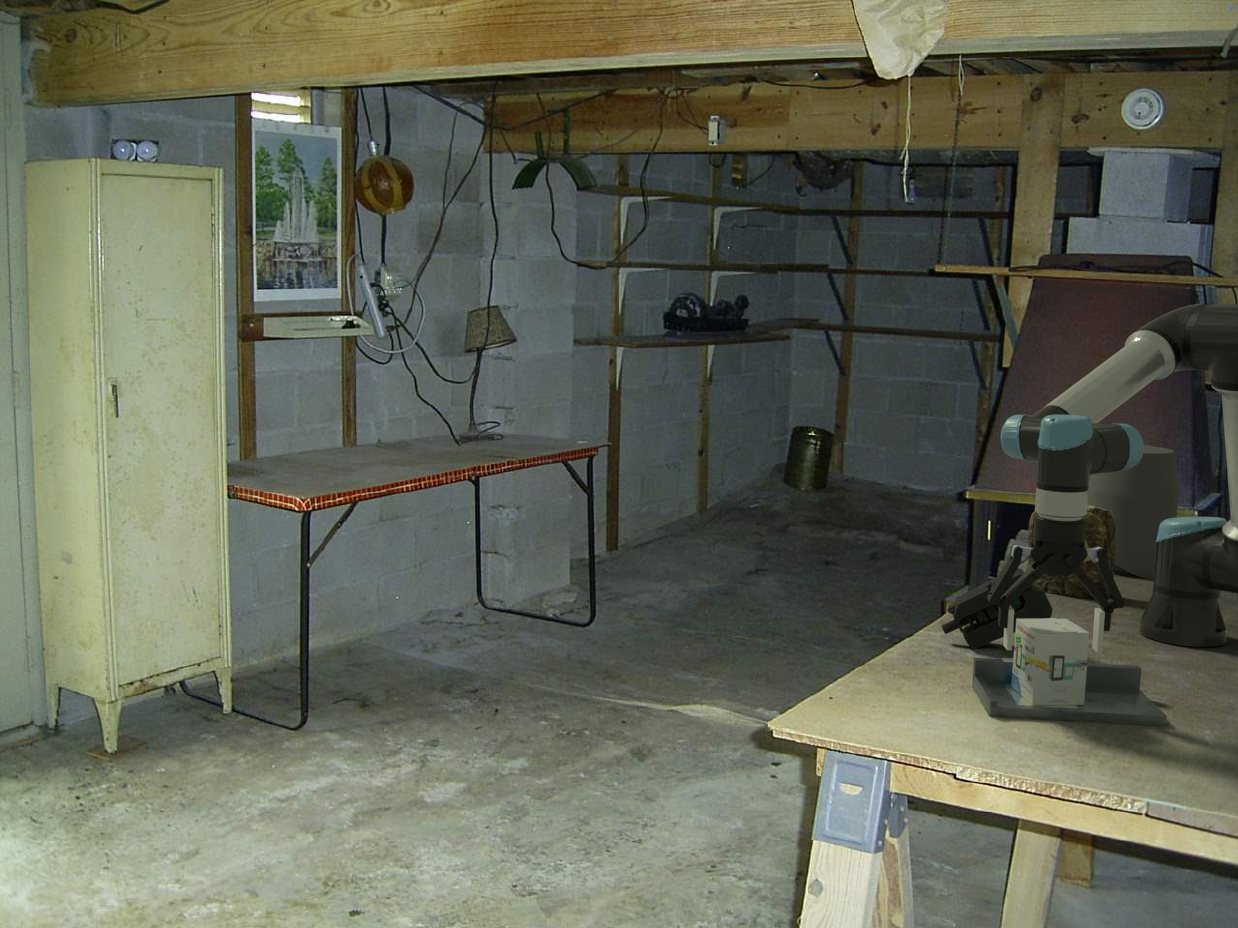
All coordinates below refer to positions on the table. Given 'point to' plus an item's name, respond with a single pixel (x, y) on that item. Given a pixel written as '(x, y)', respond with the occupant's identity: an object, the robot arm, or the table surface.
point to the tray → (1105, 701)
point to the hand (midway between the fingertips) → (1052, 649)
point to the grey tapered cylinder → (1138, 506)
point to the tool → (993, 611)
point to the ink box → (1050, 661)
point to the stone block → (1097, 534)
